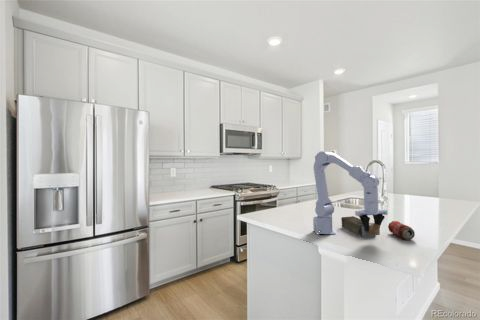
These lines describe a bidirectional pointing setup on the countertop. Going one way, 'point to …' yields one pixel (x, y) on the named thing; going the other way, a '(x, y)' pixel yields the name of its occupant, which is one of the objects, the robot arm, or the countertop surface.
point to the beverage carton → (354, 226)
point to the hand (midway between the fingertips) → (371, 230)
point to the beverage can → (401, 230)
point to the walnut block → (373, 229)
